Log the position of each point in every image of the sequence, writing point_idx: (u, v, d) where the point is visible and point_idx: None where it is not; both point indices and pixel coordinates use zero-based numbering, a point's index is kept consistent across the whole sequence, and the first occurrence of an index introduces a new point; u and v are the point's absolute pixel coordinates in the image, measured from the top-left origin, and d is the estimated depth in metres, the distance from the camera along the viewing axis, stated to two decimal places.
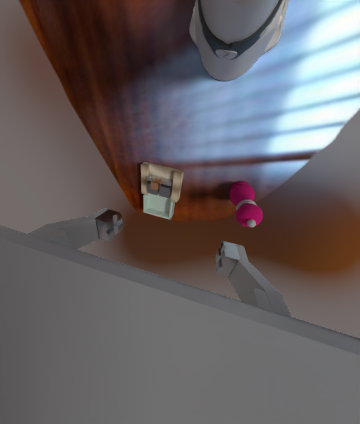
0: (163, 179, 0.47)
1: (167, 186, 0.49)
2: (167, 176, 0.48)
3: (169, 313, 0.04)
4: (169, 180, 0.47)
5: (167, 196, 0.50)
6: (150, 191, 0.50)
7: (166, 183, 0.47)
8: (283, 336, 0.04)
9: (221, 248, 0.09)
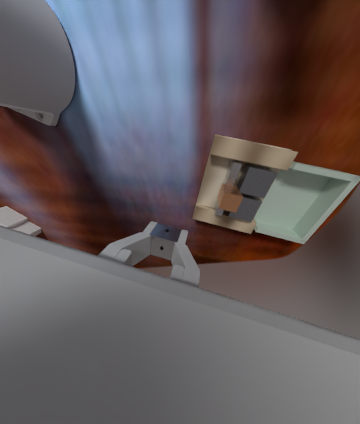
0: (225, 181, 0.22)
1: (243, 174, 0.21)
2: (222, 173, 0.23)
3: (169, 313, 0.04)
4: (229, 168, 0.21)
5: (271, 176, 0.19)
6: (248, 215, 0.23)
7: (233, 174, 0.20)
8: (283, 336, 0.04)
9: None
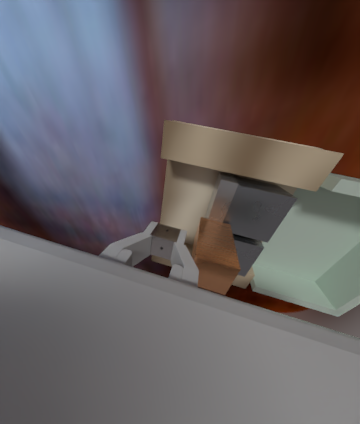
0: (208, 211, 0.12)
1: None
2: (193, 190, 0.13)
3: (169, 313, 0.04)
4: (215, 187, 0.11)
5: (282, 205, 0.09)
6: None
7: (222, 203, 0.10)
8: (283, 336, 0.04)
9: None
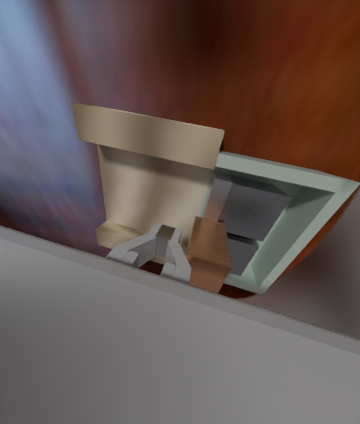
0: (203, 210, 0.12)
1: None
2: (125, 174, 0.14)
3: (169, 313, 0.04)
4: (210, 186, 0.11)
5: (276, 204, 0.09)
6: (235, 265, 0.13)
7: (217, 202, 0.10)
8: (283, 336, 0.04)
9: None
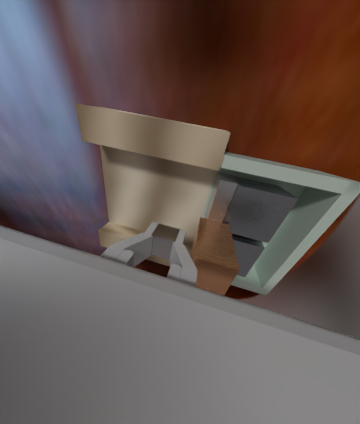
0: (207, 211, 0.12)
1: None
2: (128, 175, 0.14)
3: (169, 313, 0.04)
4: (215, 187, 0.11)
5: (283, 205, 0.09)
6: (240, 266, 0.13)
7: (221, 203, 0.10)
8: (283, 336, 0.04)
9: None
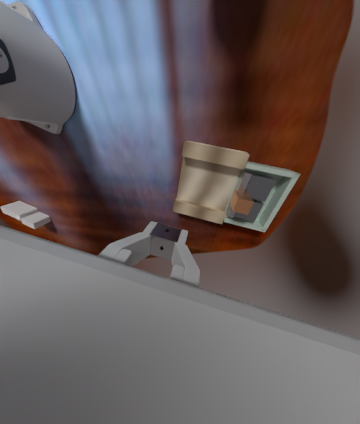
0: (236, 188, 0.25)
1: None
2: (195, 172, 0.28)
3: (169, 313, 0.04)
4: (240, 177, 0.25)
5: (270, 183, 0.23)
6: (251, 215, 0.26)
7: (245, 182, 0.24)
8: (283, 336, 0.04)
9: None
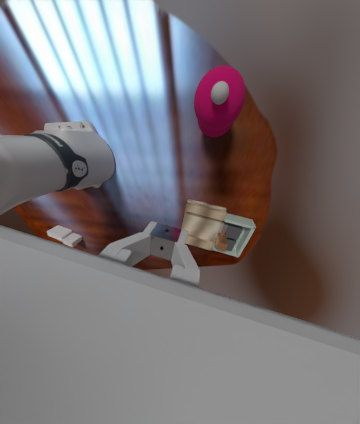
0: (220, 230, 0.40)
1: None
2: (193, 217, 0.42)
3: (169, 313, 0.04)
4: (222, 224, 0.39)
5: (239, 230, 0.37)
6: (229, 247, 0.41)
7: (224, 229, 0.38)
8: (283, 336, 0.04)
9: None
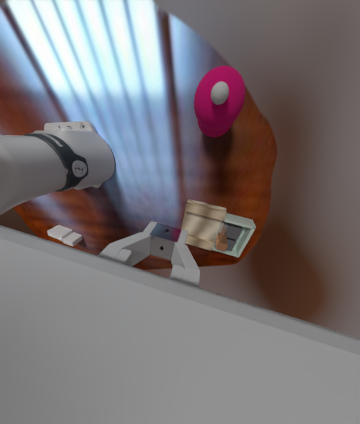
0: (220, 230, 0.40)
1: None
2: (193, 217, 0.42)
3: (169, 313, 0.04)
4: (222, 224, 0.39)
5: (239, 230, 0.37)
6: (229, 247, 0.41)
7: (224, 229, 0.38)
8: (283, 336, 0.04)
9: None
